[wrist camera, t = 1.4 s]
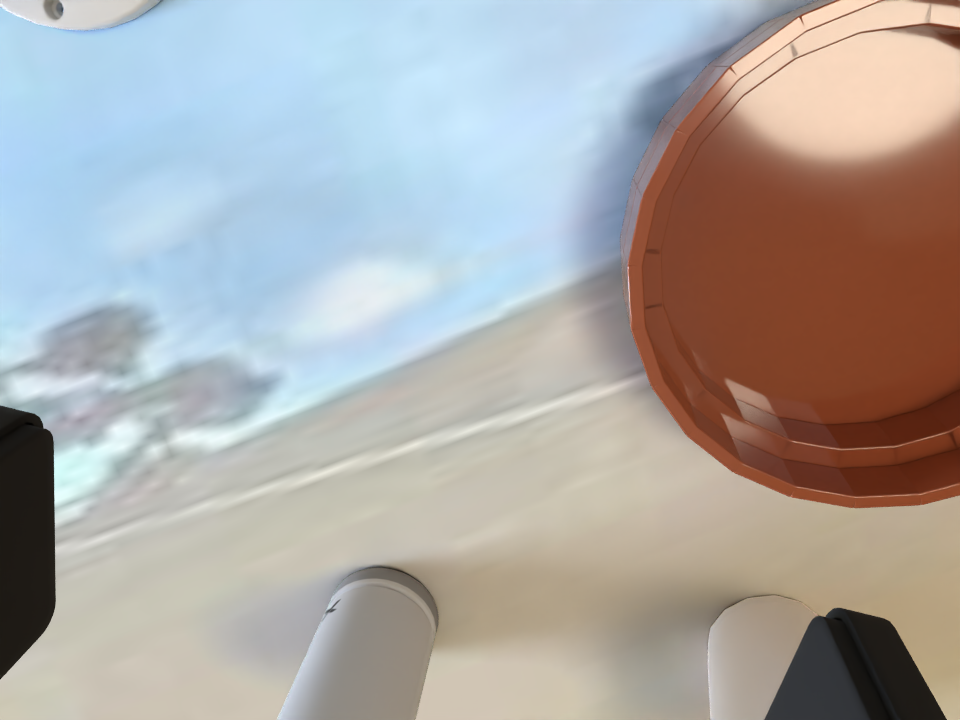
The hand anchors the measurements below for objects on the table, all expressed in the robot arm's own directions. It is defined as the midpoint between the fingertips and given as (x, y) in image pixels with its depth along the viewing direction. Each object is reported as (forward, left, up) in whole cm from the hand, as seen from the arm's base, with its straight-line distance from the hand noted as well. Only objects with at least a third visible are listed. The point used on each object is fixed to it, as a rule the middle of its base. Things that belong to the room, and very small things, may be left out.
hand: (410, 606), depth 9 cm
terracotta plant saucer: (+12, +8, -27) cm, 31 cm away
